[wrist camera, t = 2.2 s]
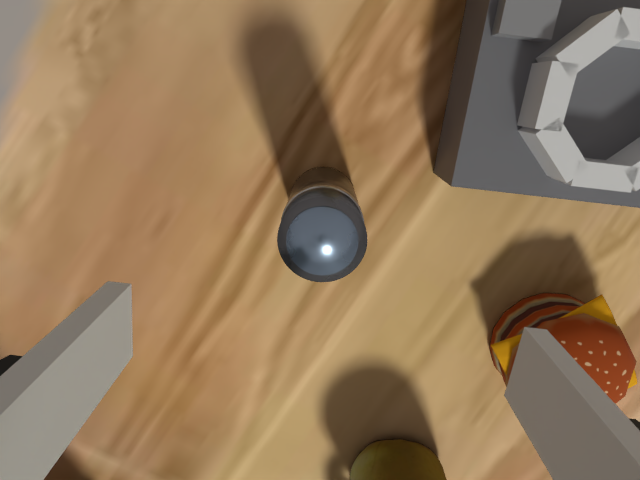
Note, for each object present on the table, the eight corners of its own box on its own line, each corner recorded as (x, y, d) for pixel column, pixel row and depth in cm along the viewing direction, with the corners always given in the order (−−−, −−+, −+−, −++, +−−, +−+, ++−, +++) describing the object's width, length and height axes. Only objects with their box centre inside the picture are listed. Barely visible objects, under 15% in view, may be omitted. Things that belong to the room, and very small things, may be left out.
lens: (286, 227, 35) (272, 279, 26) (292, 162, 34) (280, 191, 24) (351, 234, 35) (361, 288, 26) (360, 170, 34) (375, 202, 24)
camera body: (433, 172, 34) (462, 194, 27) (467, -6, 30) (512, -36, 23) (641, 196, 34) (724, 224, 27) (701, 23, 30) (815, 3, 23)
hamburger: (572, 268, 36) (625, 306, 30) (612, 357, 39) (669, 408, 33) (466, 321, 38) (495, 368, 32) (511, 403, 40) (547, 461, 34)
